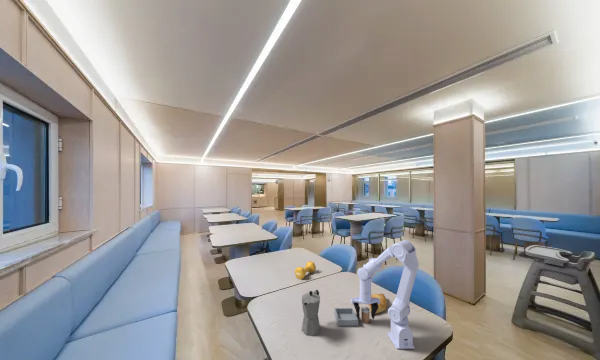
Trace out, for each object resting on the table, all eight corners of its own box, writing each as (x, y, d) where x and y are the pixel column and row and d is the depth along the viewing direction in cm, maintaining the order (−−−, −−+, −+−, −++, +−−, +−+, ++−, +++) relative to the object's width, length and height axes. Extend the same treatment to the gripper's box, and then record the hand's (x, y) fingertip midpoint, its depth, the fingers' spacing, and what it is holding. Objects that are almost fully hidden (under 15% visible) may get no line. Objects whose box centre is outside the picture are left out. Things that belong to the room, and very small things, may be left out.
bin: (358, 326, 100) (358, 320, 101) (338, 326, 100) (337, 320, 100) (352, 313, 110) (352, 308, 111) (334, 313, 110) (334, 308, 110)
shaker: (370, 323, 102) (370, 311, 103) (362, 323, 102) (362, 311, 103) (368, 318, 107) (367, 306, 107) (360, 318, 107) (360, 306, 107)
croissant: (377, 324, 107) (384, 313, 105) (360, 309, 113) (367, 298, 110) (387, 304, 124) (393, 295, 122) (372, 292, 130) (378, 283, 128)
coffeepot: (314, 342, 90) (314, 300, 91) (295, 334, 95) (295, 295, 95) (326, 321, 104) (326, 285, 104) (310, 316, 108) (310, 281, 109)
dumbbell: (303, 281, 149) (303, 269, 149) (293, 277, 154) (293, 266, 154) (316, 272, 164) (317, 262, 164) (307, 269, 169) (307, 259, 170)
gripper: (376, 286, 109) (376, 312, 109) (349, 286, 109) (349, 312, 108) (381, 293, 102) (381, 321, 102) (352, 293, 102) (353, 321, 101)
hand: (365, 317), depth 105 cm, fingers open, 7 cm apart
